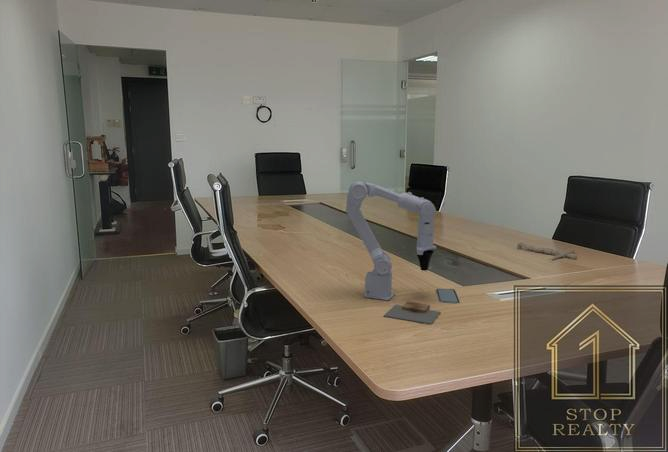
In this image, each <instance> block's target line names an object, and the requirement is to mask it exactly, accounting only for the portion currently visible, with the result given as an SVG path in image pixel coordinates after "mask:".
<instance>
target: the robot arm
mask: <svg viewBox="0 0 668 452" xmlns="http://www.w3.org/2000/svg"><path fill="white" fill-rule="evenodd" d="M367 196H368V198H371V197H380V198H383V199H386V200H388V201H392V202H394V203H397V206H398V207H399V208H401V209H402V210H403V209H404V210H406V211H408V212H411V213H414V214H418V220H417V234H416V235H417V236H416V238H417V239H416V240H417V241H416V251H415V254H416V256H417V259H418V263H419V267H420V270H421V271H424V272H426V271H428V269H429V265H430V261H431V258H432V257H433V254H434V250H436V249H437V246H436V245H434V234H435V233H434V229H435V228H434V227H435V221H434V220H435V215H436V212H437V209H436V206H435V205H434V203H433V202H432V201H431V200H428V199H427V198H426V199H425V198H424V197H422V196H421V197H419V196H416V195H414V194H413V193H412V192H411V191H408V192H402V193H398V192H396V191H392V190H390V189H388V188H385V187H384V186H381V185H378V184H376V183H372V182H367V181H363V180H360V179H358V180H354V181H353V182H351V184H350V186H349V188H348V191H347V199H346V207H345V212H346V214H347V215H348V218H349V219H350V221H351V222H352V225H353V227H354V228H355V230H356V232H357V233H358V235H359V237H360V240H361V241H362V243H363V245H364V246H365V248H366V250H367V252H368V253H369V256H370V258H371V261H372V263H373V270H372V271H368V272H367V273H366V275H365V277H364V278H365V280H364V296H363V297H365V298H369V299H375V300H376V299H377V300H382V301H383V300H384V301H389V300H390V299H392V298H393V297H394V296H395V292H392V283H393V282H392V281H393V276H392V275H393V272H392V267H393V266H392V263H391V257H390V256H389V254H388V253H386V252H384V249H382V247H381V245H380V244H379V242H378V240H377V238H376V236H375V235H374V232H373V231H372V230H371V229H372V228H371V227H370V225H369V224H368V222H367V220H366V219H365V216H364V215H363V213H362V210H361V206H362V202H364V200H365V199H366V197H367Z"/></svg>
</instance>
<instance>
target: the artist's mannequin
mask: <svg viewBox="0 0 668 452" xmlns="http://www.w3.org/2000/svg"><path fill="white" fill-rule="evenodd" d="M522 248H525V249H527V250H528V251H533V252H536V253H544V254H546V255H549V254H552V255H553V257H552V258H548V260H552V261H554V259H555V260H557V258H558V259H560V258H561V257H565V258H568V257H569V258H568V259H571V258H573V259H572V260H575V259H576V260H577V258H578V256H577V254H575V253H573V252H575V249H574V248H572V250H569V251H564V250H562V249H556V250H554V249H552V248H549V247H547V248H545V247H535V246H532V245H529V244H526V243H523V241H522V242H517V244H516V250H519V249H522ZM554 255H555V256H554Z"/></svg>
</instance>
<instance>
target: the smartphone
mask: <svg viewBox="0 0 668 452" xmlns="http://www.w3.org/2000/svg"><path fill="white" fill-rule="evenodd" d="M435 292H436V295H437V299H438V302H439V303H440V302H443V303H442V304H457V303H458V304H460V303H461V301H460V298H459V296H458V294H457V290H456V289H453V288H436V289H435Z"/></svg>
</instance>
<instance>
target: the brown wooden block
mask: <svg viewBox="0 0 668 452" xmlns="http://www.w3.org/2000/svg"><path fill="white" fill-rule="evenodd" d="M401 306H402V311H406V312H412V313H418V314H424V315H425V314H426V313H427V312H428V311H429V310H431V304H427V303H419V302H413V301H406V302H405V303H404V304H403V305H401Z"/></svg>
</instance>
